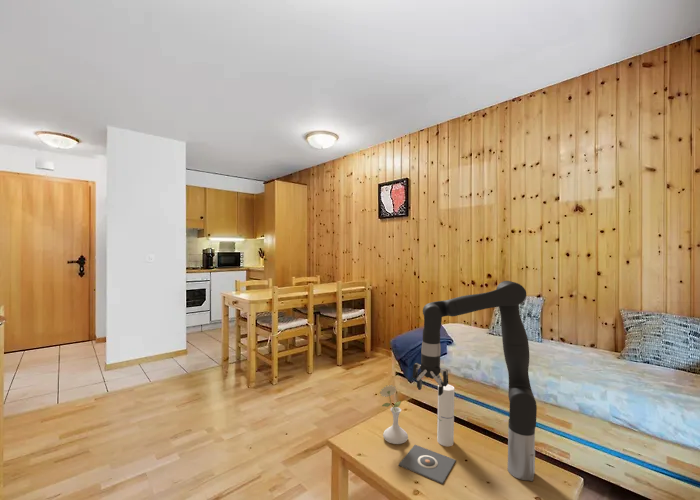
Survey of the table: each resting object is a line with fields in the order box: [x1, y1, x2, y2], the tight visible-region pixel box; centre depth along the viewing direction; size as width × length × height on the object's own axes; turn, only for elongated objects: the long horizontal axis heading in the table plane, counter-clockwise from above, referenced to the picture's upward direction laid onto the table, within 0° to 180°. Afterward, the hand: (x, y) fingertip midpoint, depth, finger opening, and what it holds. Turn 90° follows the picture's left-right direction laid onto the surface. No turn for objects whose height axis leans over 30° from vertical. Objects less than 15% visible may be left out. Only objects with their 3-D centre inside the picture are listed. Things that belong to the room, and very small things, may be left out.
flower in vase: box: [379, 384, 409, 445], centre depth 152 cm, size 13×11×25 cm
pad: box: [398, 444, 457, 485], centre depth 136 cm, size 18×16×1 cm
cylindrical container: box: [436, 383, 455, 447], centre depth 151 cm, size 7×7×25 cm
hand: (429, 392), depth 136 cm, fingers open, 8 cm apart
